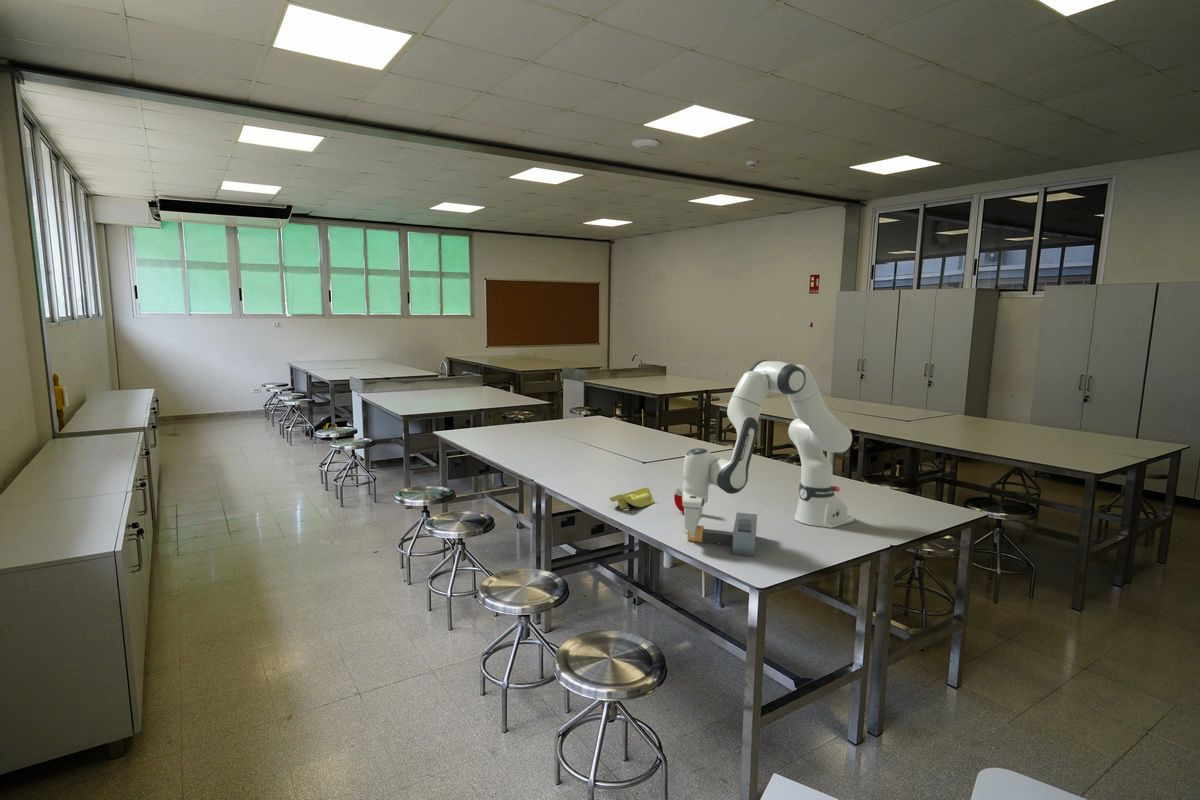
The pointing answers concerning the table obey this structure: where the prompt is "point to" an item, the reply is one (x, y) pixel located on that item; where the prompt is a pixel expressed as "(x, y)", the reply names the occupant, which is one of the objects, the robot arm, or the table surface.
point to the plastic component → (634, 498)
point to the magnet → (679, 499)
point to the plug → (711, 536)
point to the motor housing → (744, 534)
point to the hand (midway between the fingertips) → (693, 534)
